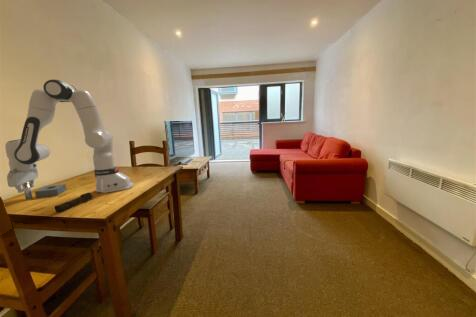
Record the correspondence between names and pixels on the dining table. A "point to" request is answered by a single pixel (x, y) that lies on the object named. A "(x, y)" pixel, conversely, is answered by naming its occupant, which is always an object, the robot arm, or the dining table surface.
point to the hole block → (50, 190)
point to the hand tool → (73, 202)
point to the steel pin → (27, 190)
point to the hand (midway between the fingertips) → (26, 189)
